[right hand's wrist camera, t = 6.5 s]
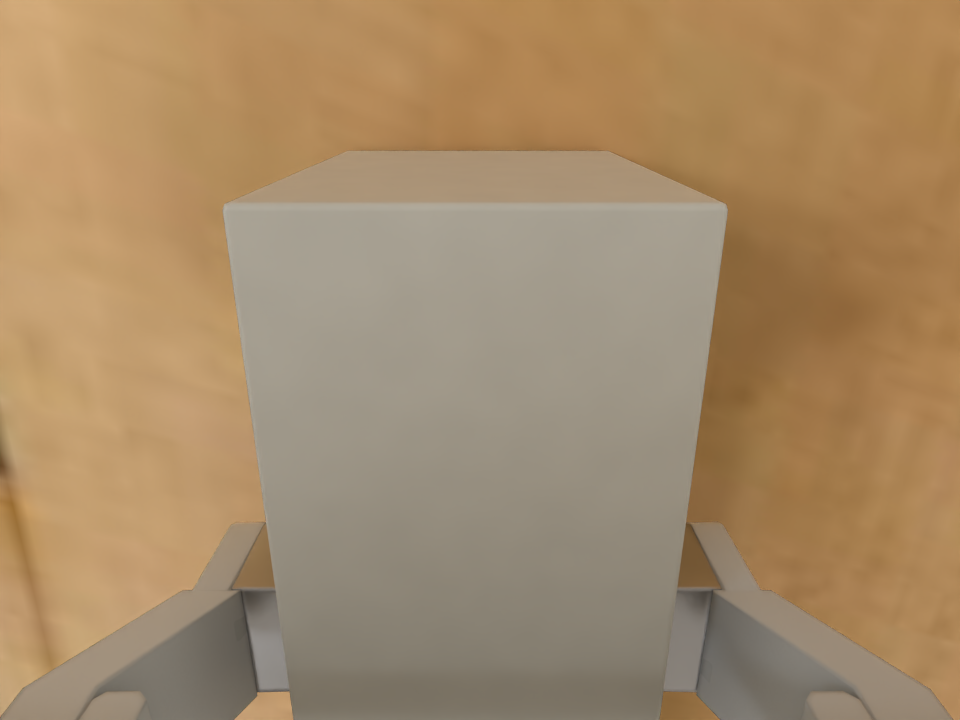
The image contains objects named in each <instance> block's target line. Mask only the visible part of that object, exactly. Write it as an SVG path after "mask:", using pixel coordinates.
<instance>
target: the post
mask: <svg viewBox="0 0 960 720" xmlns="http://www.w3.org/2000/svg"><path fill="white" fill-rule="evenodd" d="M727 214H728V209H727V205H726V204H725V203H723V202H721V201H718V200H716V199H714V198H712V197H709V196H707V195H705V194H703V193H701V192H698V191H696V190H694V189H692V188H689V187H687V186H685V185H683V184H681V183H678V182H676V181H674V180H672V179H669V178H667V177H665V176H663V175H661V174H658V173H656V172H654V171H652V170H649V169H647V168H645V167H643V166H641V165H638V164H636V163H634V162H632V161H629V160H627V159H625V158H623V157H621V156H618V155H616V154H614V153H612V152H609V151H346V152H344V153H341V154H339V155H337V156H334V157H332V158H330V159H327V160H325V161H323V162H320V163H318V164H316V165H313V166H311V167H309V168H306V169H304V170H302V171H299V172H297V173H295V174H292V175H290V176H288V177H286V178H283V179H281V180H279V181H276V182H274V183H272V184H269V185H267V186H265V187H262V188H260V189H258V190H255V191H253V192H251V193H248V194H246V195H244V196H241V197H239V198H237V199H234V200H232V201H230V202H228V203H225V204H224V207H223V217H224V224H225V231H226V239H227V246H228V253H229V260H230V267H231V274H232V282H233V289H234V296H235V303H236V310H237V317H238V325H239V332H240V339H241V346H242V353H243V360H244V368H245V375H246V382H247V389H248V396H249V404H250V411H251V418H252V425H253V432H254V439H255V447H256V454H257V461H258V468H259V475H260V482H261V490H262V497H263V504H264V511H265V518H266V525H267V533H268V540H269V547H270V554H271V561H272V569H273V576H274V583H275V590H276V597H277V604H278V612H279V619H280V626H281V633H282V640H283V647H284V655H285V662H286V669H287V676H288V683H289V690H290V698H291V705H292V712H293V719H294V720H660V712H661V705H662V697H663V690H664V683H665V675H666V668H667V660H668V653H669V645H670V638H671V631H672V623H673V616H674V608H675V601H676V593H677V586H678V579H679V571H680V564H681V556H682V549H683V541H684V534H685V527H686V519H687V512H688V504H689V497H690V489H691V482H692V474H693V467H694V460H695V452H696V445H697V437H698V430H699V422H700V415H701V408H702V400H703V393H704V385H705V378H706V370H707V363H708V356H709V348H710V341H711V333H712V326H713V318H714V311H715V304H716V296H717V289H718V281H719V274H720V266H721V259H722V251H723V244H724V237H725V229H726V222H727Z"/></svg>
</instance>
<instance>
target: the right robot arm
mask: <svg viewBox="0 0 960 720" xmlns="http://www.w3.org/2000/svg"><path fill="white" fill-rule="evenodd" d="M282 691H290V690H289V683H288V676H287V669H286V662H285V655H284V647H283V640H282V633H281V626H280V619H279V612H278V604H277V597H276V590H275V583H274V576H273V569H272V561H271V554H270V547H269V540H268V533H267V525H266V522H236V523H234V524H232V525H231V526H230V527H229V528H228V530H227V532H226V534H225V535H224V537H223V539H222V540H221V542H220V544H219V546H218V547H217V549H216V551H215V552H214V554H213V556H212V557H211V559H210V561H209V563H208V564H207V566H206V568H205V569H204V571H203V573H202V575H201V576H200V578H199V580H198V581H197V583H196V585H195V587H194V588H193V590H182V591H181V592H179V593H177V594H176V595H174V596H172V597H171V598H169V599H168V600H166V601H164V602H163V603H161V604H159V605H158V606H156V607H155V608H153V609H151V610H150V611H148V612H146V613H145V614H143V615H141V616H140V617H138V618H137V619H135V620H133V621H132V622H130V623H128V624H127V625H125V626H124V627H122V628H120V629H119V630H117V631H115V632H114V633H112V634H110V635H109V636H107V637H106V638H104V639H102V640H101V641H99V642H97V643H96V644H94V645H93V646H91V647H89V648H88V649H86V650H84V651H83V652H81V653H80V654H78V655H76V656H75V657H73V658H71V659H70V660H68V661H66V662H65V663H63V664H62V665H60V666H58V667H57V668H55V669H53V670H52V671H50V672H49V673H47V674H45V675H44V676H42V677H40V678H39V679H37V680H35V681H34V682H32V683H31V684H29V685H27V686H26V687H24V688H23V689H22V690H21V691H20V693H19V694H18V695H17V696H16V698H15V699H14V700H13V702H12V703H11V704H10V705H9V707H8V708H7V709H6V711H5V712H4V713H3V714H2V716H1V717H0V720H234V719H235V718H236V717H237V716H238V715H239V714H240V713H241V712H242V711H243V710H244V709H245V708H246V707H247V706H248V705H249V704H250V703H251V702H252V701H253V700H254V699H255V698H256V697H257V692H282ZM663 691H671V692H697V694H696V695H697V696H698V697H699V698H700V699H701V700H702V701H703V702H704V703H705V704H706V705H707V706H708V707H709V709H710V710H711V711H712V712H713V713H714V714H715V715H716V716H717V717H718V718H719V719H720V720H953V719H952V717H951V716H950V715H949V713H948V712H947V711H946V709H945V708H944V707H943V705H942V704H941V703H940V701H939V700H938V699H937V697H936V696H935V695H934V693H933V692H932V691H931V689H929V688H927V687H926V686H924V685H923V684H921V683H919V682H918V681H916V680H915V679H913V678H911V677H910V676H908V675H907V674H905V673H903V672H902V671H900V670H898V669H897V668H895V667H894V666H892V665H890V664H889V663H887V662H886V661H884V660H882V659H881V658H879V657H878V656H876V655H874V654H873V653H871V652H869V651H868V650H866V649H865V648H863V647H861V646H860V645H858V644H857V643H855V642H853V641H852V640H850V639H849V638H847V637H845V636H844V635H842V634H841V633H839V632H837V631H836V630H834V629H832V628H831V627H829V626H828V625H826V624H824V623H823V622H821V621H820V620H818V619H816V618H815V617H813V616H812V615H810V614H808V613H807V612H805V611H803V610H802V609H800V608H799V607H797V606H795V605H794V604H792V603H791V602H789V601H787V600H786V599H784V598H783V597H781V596H779V595H778V594H776V593H774V592H773V591H771V590H761V589H760V587H759V586H758V584H757V582H756V580H755V579H754V577H753V575H752V573H751V572H750V570H749V568H748V567H747V565H746V563H745V561H744V560H743V558H742V556H741V554H740V553H739V551H738V549H737V548H736V546H735V544H734V542H733V541H732V539H731V537H730V535H729V534H728V532H727V530H726V529H725V527H724V525H723V524H721V523H720V522H690V523H686V527H685V534H684V541H683V549H682V556H681V564H680V571H679V579H678V586H677V593H676V601H675V608H674V616H673V623H672V631H671V638H670V645H669V653H668V660H667V668H666V675H665V683H664V690H663Z"/></svg>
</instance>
